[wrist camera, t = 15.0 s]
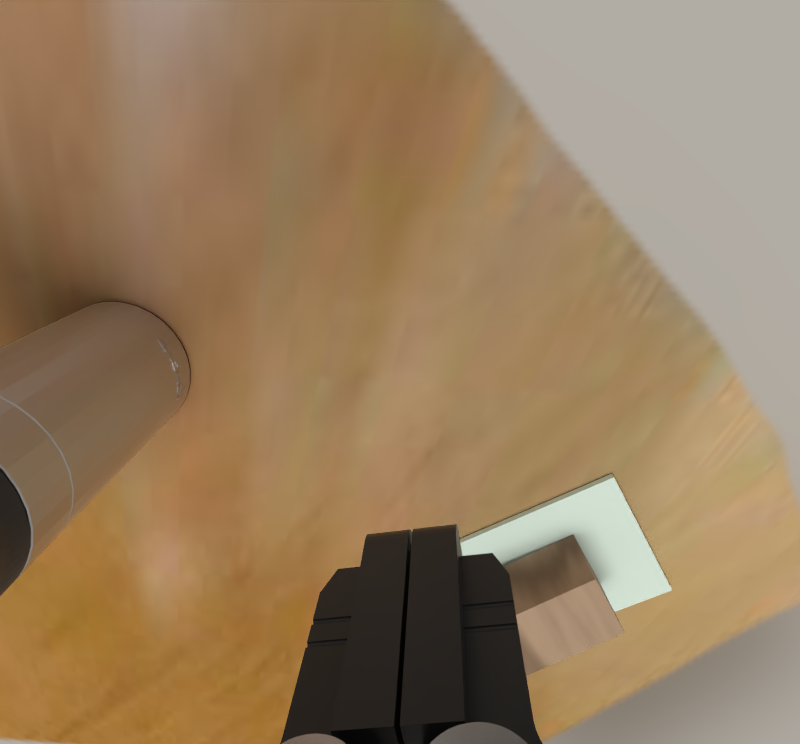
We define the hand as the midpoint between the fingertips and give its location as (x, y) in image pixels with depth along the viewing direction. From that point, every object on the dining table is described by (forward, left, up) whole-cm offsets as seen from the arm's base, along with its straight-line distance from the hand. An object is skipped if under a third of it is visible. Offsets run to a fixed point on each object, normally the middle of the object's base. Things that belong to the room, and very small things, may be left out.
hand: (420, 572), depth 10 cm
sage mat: (+5, -25, -29) cm, 38 cm away
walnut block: (-3, -28, -25) cm, 37 cm away
